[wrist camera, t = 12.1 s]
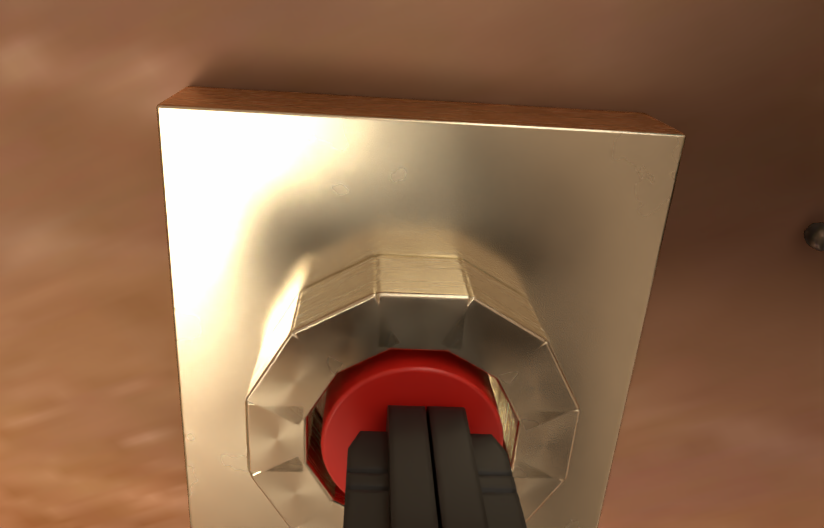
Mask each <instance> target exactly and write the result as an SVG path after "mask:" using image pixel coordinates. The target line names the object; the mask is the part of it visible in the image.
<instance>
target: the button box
mask: <svg viewBox="0 0 824 528" xmlns="http://www.w3.org/2000/svg"><path fill="white" fill-rule="evenodd" d="M156 108H157V120H158V133H159V145H160V158H161V170H162V182H163V195H164V207H165V219H166V232H167V244H168V257H169V269H170V281H171V294H172V306H173V318H174V331H175V343H176V356H177V368H178V380H179V393H180V405H181V417H182V430H183V442H184V455H185V467H186V479H187V492H188V504H189V517H190V528H343V520H344V503H345V493H344V492H343V491H342V490H341V489H340V488H339V487H338V486H337V485H336V484H335V482H334V481H333V480H332V478H331V476H330V475H329V473H328V471H327V469H326V467H325V464H324V462H323V458H322V453H321V432H322V423H323V414H324V406H325V397H326V390H327V388H328V387H329V386H330V384H331V383H332V381H333V380H334V379H335V377H336V376H337V375H338V373H340V372H342V371H345V370H347V369H349V368H351V367H353V366H355V365H358V364H360V363H362V362H364V361H366V360H369V359H371V358H373V357H375V356H377V355H380V354H382V353H384V352H386V351H388V350H418V351H448V352H450V353H452V354H454V355H455V356H457V357H459V358H461V359H462V360H464V361H466V362H468V363H469V364H471V365H473V366H475V367H477V368H478V369H480V370H482V371H484V372H485V373H487V374H488V375H489V379H490V383H491V386H492V390H493V393H494V397H495V401H496V404H497V408H498V411H499V415H500V419H501V422H502V426H503V448H504V449H505V450H506V452H507V454H508V458H509V462H510V466H511V469H512V476H513V477H514V481H515V484H516V488H517V493H518V496H519V499H520V503H521V507H522V511H523V514H524V518H525V522H526V526H527V528H598V524H599V519H600V515H601V511H602V506H603V502H604V497H605V493H606V488H607V484H608V480H609V475H610V471H611V466H612V462H613V457H614V453H615V448H616V444H617V440H618V435H619V431H620V426H621V422H622V417H623V413H624V409H625V404H626V400H627V395H628V391H629V386H630V382H631V377H632V373H633V369H634V364H635V360H636V355H637V351H638V346H639V342H640V338H641V333H642V329H643V324H644V320H645V315H646V311H647V306H648V302H649V298H650V293H651V289H652V284H653V280H654V275H655V271H656V267H657V262H658V258H659V253H660V249H661V244H662V240H663V235H664V231H665V227H666V222H667V218H668V213H669V209H670V204H671V200H672V196H673V191H674V187H675V182H676V178H677V173H678V169H679V164H680V160H681V156H682V151H683V147H684V142H685V138H686V137H685V134H683V133H681V132H679V131H677V130H675V129H674V128H672V127H670V126H668V125H666V124H664V123H662V122H660V121H659V120H657V119H655V118H653V117H651V116H649V115H647V114H645V113H638V112H621V111H604V110H587V109H569V108H552V107H535V106H518V105H501V104H484V103H466V102H449V101H432V100H415V99H398V98H381V97H364V96H346V95H329V94H312V93H295V92H278V91H261V90H243V89H226V88H209V87H192V86H188V87H185V88H184V89H182V90H181V91H179V92H177V93H176V94H174V95H173V96H171V97H169V98H168V99H166V100H165V101H163V102H161V103H160V104H158V105H157V107H156Z"/></svg>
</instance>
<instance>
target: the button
mask: <svg viewBox="0 0 824 528" xmlns="http://www.w3.org/2000/svg"><path fill="white" fill-rule="evenodd" d="M388 405H402V406H425V409H427V406H442V407H464V408H465V410H466V414H467V419H468V424H469V429H470V434H492V435H493V437H494V438H495V439H496V440H497V441H498V442H499V443H500V445H501V446H502V447H503V426H502V422H501V419H500V415H499V411H498V408H497V404H496V401H495V397H494V393H493V390H492V386H491V383H490V379H489V375H488V374H487V373H485V372H484V371H482V370H480V369H478V368H477V367H475V366H473V365H471V364H469V363H468V362H466V361H464V360H462V359H461V358H459V357H457V356H455V355H454V354H452V353H450V352H448V351H418V350H388V351H386V352H384V353H382V354H380V355H377V356H375V357H373V358H371V359H369V360H366V361H364V362H362V363H360V364H358V365H355V366H353V367H351V368H349V369H347V370H345V371H342V372H340V373H338V375H337V376H336V377H335V379H334V380H333V381H332V383H331V384H330V386H329V387H328V388H327V390H326V397H325V406H324V414H323V423H322V432H321V453H322V458H323V462H324V464H325V467H326V469H327V471H328V473H329V475H330V476H331V478H332V480H333V481H334V482H335V484H336V485H337V486H338V487H339V488H340V489H341V490H342V491H343V492H344V493H345V488H346V472H347V455H348V447H349V446H350V445H351V443H352V442H353V440H354V439H355V437H356V436H357V434H358V433H359V432H360V431H385V432H386V422H387V408H388Z"/></svg>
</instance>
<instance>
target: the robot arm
mask: <svg viewBox="0 0 824 528" xmlns="http://www.w3.org/2000/svg"><path fill="white" fill-rule="evenodd" d="M343 528H527V526H526V522H525V518H524V514H523V511H522V507H521V503H520V499H519V496H518V493H517V488H516V484H515V481H514V477H513V476H512V469H511V466H510V462H509V458H508V454H507V452H506V450H505V449H504V448H503V447H502V446H501V445H500V443H499V442H498V441H497V440H496V439H495V438H494V437H493V435H492V434H470V429H469V424H468V419H467V414H466V410H465V408H464V407H442V406H427V409H425V406H402V405H388V408H387V422H386V432H385V431H360V432H359V433H358V434H357V436H356V437H355V439H354V440H353V442H352V443H351V445H350V446H349V447H348V455H347V472H346V488H345V503H344V520H343Z"/></svg>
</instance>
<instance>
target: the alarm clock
mask: <svg viewBox="0 0 824 528" xmlns="http://www.w3.org/2000/svg"><path fill="white" fill-rule="evenodd" d="M804 238H805V241H806V243H807V244H808V245H809V246H811V247H812V248H814V249H816V250H819V251H824V223H813V224H811V225H810V226H809V227H808V228H807V229H806V230H805V231H804Z"/></svg>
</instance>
